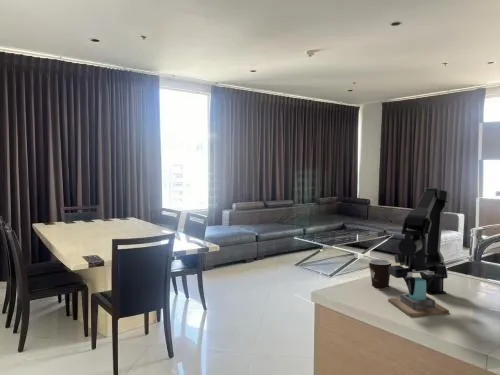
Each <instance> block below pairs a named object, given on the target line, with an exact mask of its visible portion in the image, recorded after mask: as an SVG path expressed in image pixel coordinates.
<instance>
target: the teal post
mask: <svg viewBox="0 0 500 375" xmlns="http://www.w3.org/2000/svg"><path fill="white" fill-rule="evenodd" d="M413 277H414V278H415V283H414V292H413V295H410V293H409V292H408V294H409V298H410V299H412V300H413V301H421V300H426V296H427V292H426V280H424V279H422V278H421V276H413Z"/></svg>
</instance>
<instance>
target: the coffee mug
mask: <svg viewBox="0 0 500 375" xmlns="http://www.w3.org/2000/svg"><path fill="white" fill-rule="evenodd" d="M390 266H392V261H391V260H387V259H382V258H381V259H380V258H375V259H370V260H369V261H368V267H369V272H370V278H371V280H370V281H371V286H372V287H373V288H376V289H388V288H389V287H390V286H389V285H390V278H391V275H390V274H388V269H389V267H390Z"/></svg>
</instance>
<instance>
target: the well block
mask: <svg viewBox="0 0 500 375" xmlns="http://www.w3.org/2000/svg"><path fill="white" fill-rule="evenodd" d="M399 296H400V297H394V298H387V302H388V303H389V304H391V306H394V307H395V308H397V309H398V310H399V311H401V312H402V313H404V314H405V315H406V316H408V317H410V318H411V317H413V318H414V317H421V316H422V317H424V316H434V315H435V316H436V315H445V314H447V315H449V314H450V310H449V309H447V308H445V307H444V306H443V305H441V304H439V303H437V302H436V300H435V299H433V298H432V297H430V296H428V295H426V300H421V301H413V300H412V299H410V298H409V293H400V295H399Z"/></svg>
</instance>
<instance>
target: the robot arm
mask: <svg viewBox="0 0 500 375" xmlns="http://www.w3.org/2000/svg"><path fill="white" fill-rule="evenodd" d="M450 202H451V195H450V193H449V192H448V191H447V190H442V189H440V188H437V187H426V188H425V187H424V188H423V191H422V196H421V197H420V200H419V202H418V203H417V205H416V207H415V208H414V209H411V210H410V211H409V212H408V214H407V215H406V216H405V218H404V221H403V224H402V229H401V235H404V238H402V239H401V240H400V241H399V243H398V250H399V252H400V253H396V254H394V262H395V263H396V264H399V265H391V266H390V267H389V269H388V274H390V276H392V277H394V278H395V279H403V281H404V282H405V284H406V285H405V286H406V287H407V290H408V294H409V293H410V295H413V292H414V283H415V278H414V277H415V276H413V274H419V276H420V278H422V279H424V280H426V294H427V293H428V294H429V295H441V294H442V295H443V294H447V291H446V290H444V280H445V279H448V278H449V277H448V275H449V274H448V268H447V266H446V263H445V258H444V256H443V254H442V253H441V242H442V241H441V240H442V228H443V227H442V225H443V216H444V215H443V214H444V213H445V212H446V210H448V207H449V203H450ZM404 266H405V267H404Z"/></svg>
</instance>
